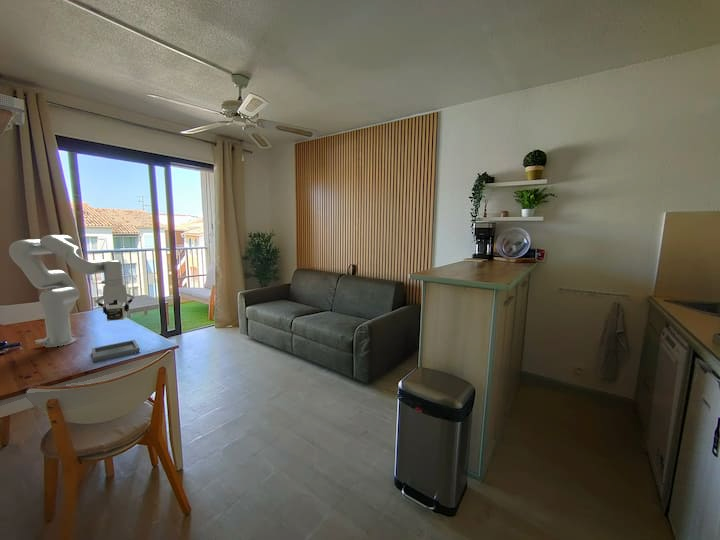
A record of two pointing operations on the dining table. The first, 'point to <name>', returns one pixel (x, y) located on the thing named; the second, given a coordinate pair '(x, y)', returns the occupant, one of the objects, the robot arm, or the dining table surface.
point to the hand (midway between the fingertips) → (116, 312)
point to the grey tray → (114, 350)
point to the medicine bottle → (116, 311)
